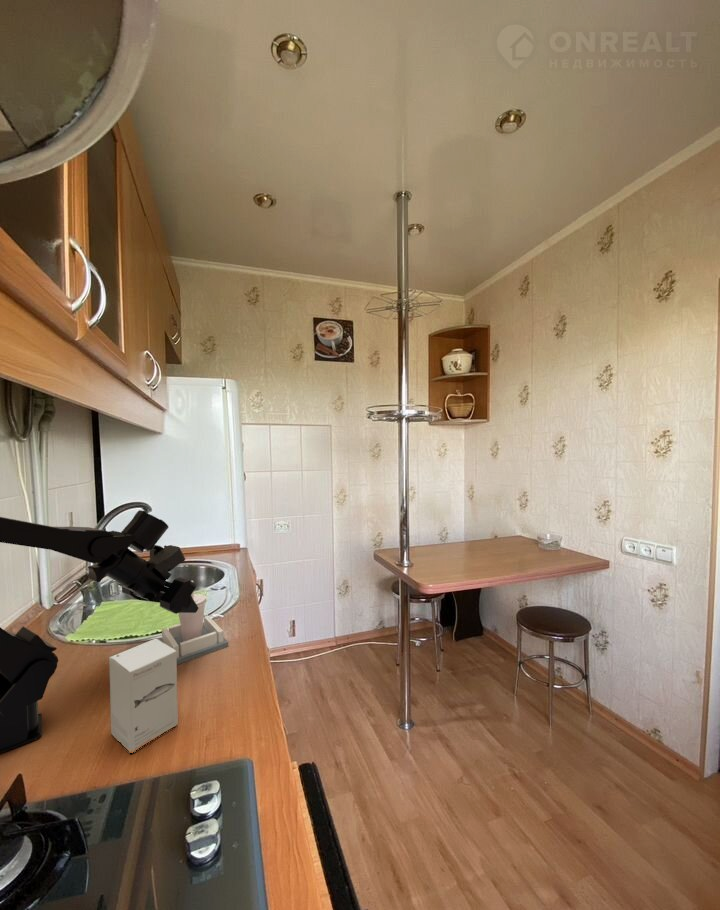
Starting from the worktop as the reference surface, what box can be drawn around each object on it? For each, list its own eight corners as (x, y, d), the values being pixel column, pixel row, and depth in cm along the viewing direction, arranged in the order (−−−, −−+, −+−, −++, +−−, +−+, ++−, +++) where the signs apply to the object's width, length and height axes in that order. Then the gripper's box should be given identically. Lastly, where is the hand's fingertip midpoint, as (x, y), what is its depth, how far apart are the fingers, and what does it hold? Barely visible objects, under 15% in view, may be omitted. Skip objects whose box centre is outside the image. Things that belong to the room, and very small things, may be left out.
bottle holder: (228, 646, 85) (228, 631, 85) (170, 667, 77) (170, 650, 77) (210, 626, 94) (210, 613, 94) (157, 643, 86) (157, 628, 86)
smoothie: (185, 652, 81) (183, 588, 81) (171, 642, 85) (170, 581, 85) (212, 639, 86) (211, 579, 85) (199, 631, 90) (197, 573, 90)
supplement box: (130, 757, 55) (127, 672, 55) (110, 734, 59) (107, 655, 59) (179, 726, 61) (177, 650, 60) (158, 707, 65) (156, 636, 65)
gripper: (186, 542, 74) (232, 580, 84) (135, 531, 84) (181, 566, 93) (147, 595, 67) (202, 629, 77) (96, 577, 77) (150, 610, 87)
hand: (183, 605), depth 84 cm, fingers open, 9 cm apart
